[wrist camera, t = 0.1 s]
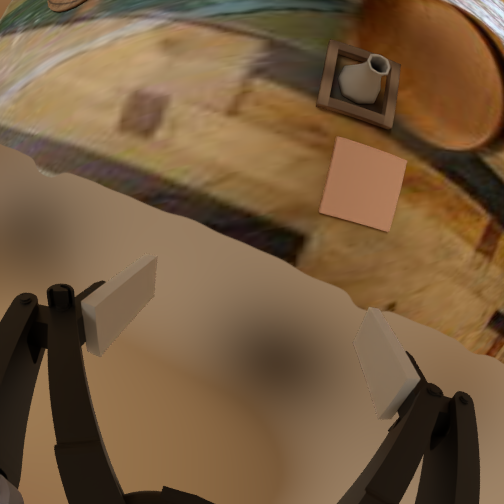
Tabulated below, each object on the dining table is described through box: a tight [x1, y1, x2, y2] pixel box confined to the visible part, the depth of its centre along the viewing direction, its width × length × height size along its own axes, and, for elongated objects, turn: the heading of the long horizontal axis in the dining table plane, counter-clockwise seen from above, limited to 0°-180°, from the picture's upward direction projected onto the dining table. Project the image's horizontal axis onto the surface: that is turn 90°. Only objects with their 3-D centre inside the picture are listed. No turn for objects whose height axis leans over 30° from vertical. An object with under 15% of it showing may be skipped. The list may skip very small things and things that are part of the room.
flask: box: [337, 54, 391, 104], centre depth 30 cm, size 7×7×10 cm
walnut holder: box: [316, 39, 401, 130], centre depth 34 cm, size 12×12×2 cm
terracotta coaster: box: [318, 136, 407, 232], centre depth 39 cm, size 12×12×1 cm
